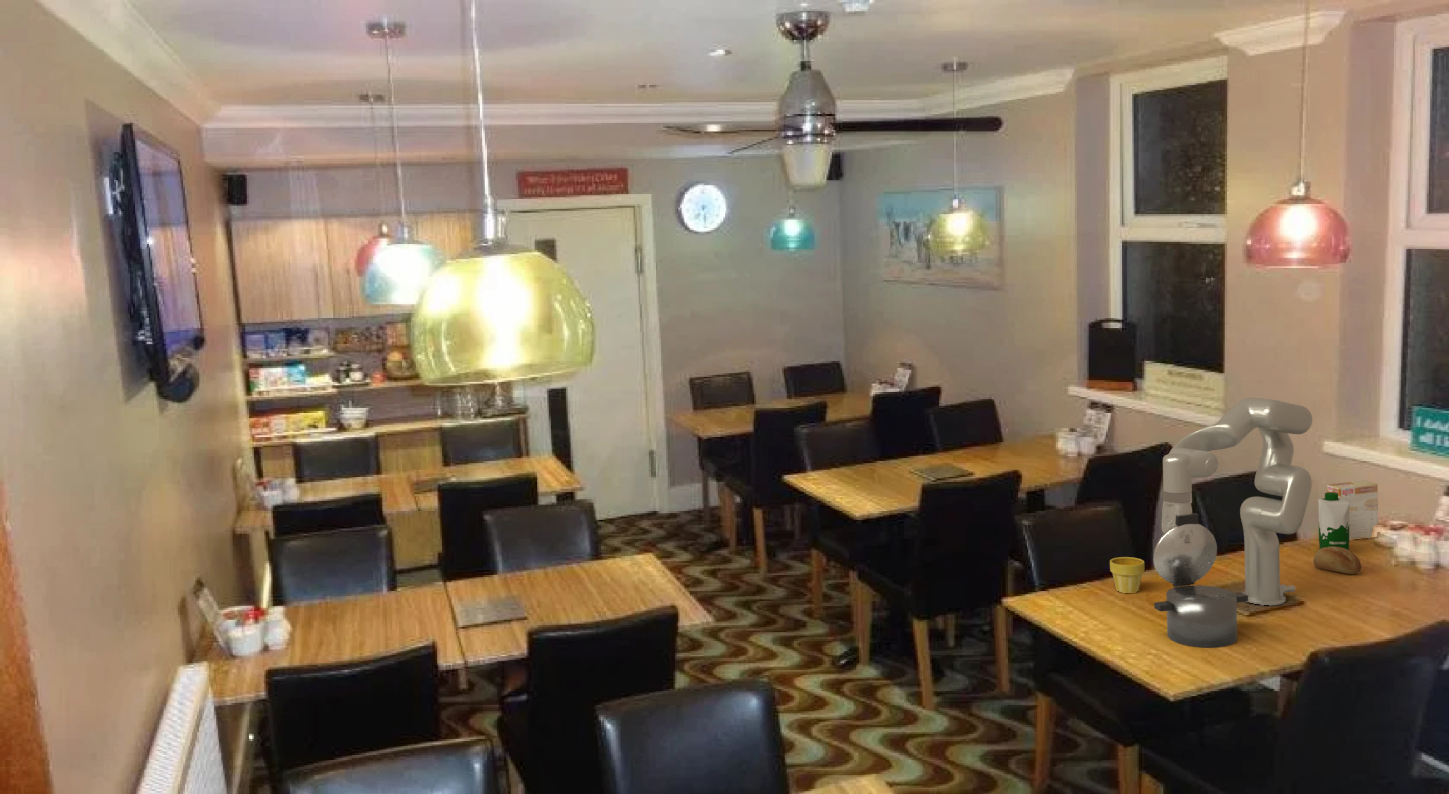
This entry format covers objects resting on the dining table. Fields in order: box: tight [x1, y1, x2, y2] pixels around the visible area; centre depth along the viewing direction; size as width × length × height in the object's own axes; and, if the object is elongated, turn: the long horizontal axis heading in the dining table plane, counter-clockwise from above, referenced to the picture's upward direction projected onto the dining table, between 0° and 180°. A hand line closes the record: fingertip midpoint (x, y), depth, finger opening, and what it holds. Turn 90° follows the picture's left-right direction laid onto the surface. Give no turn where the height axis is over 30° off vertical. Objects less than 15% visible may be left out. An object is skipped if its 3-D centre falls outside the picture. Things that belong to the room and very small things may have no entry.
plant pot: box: [1109, 556, 1145, 594], centre depth 360 cm, size 10×10×10 cm
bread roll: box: [1312, 547, 1362, 575], centre depth 364 cm, size 10×15×8 cm, turn 31°
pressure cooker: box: [1153, 584, 1248, 649], centre depth 316 cm, size 26×19×12 cm
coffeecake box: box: [1326, 479, 1379, 541], centre depth 400 cm, size 15×7×20 cm, turn 97°
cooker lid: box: [1152, 512, 1218, 588], centre depth 322 cm, size 19×22×3 cm
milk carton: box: [1317, 492, 1350, 551], centre depth 384 cm, size 9×9×20 cm
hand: (1179, 559), depth 325 cm, fingers closed
